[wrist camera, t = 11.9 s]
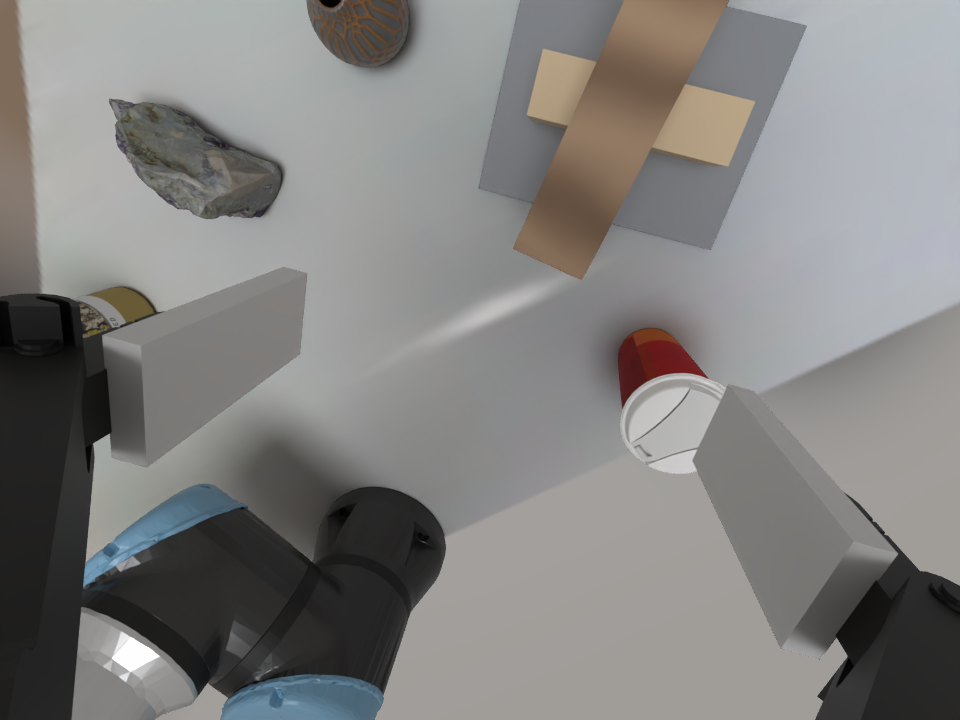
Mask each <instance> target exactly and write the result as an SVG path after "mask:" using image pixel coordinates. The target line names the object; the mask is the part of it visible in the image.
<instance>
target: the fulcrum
mask: <svg viewBox="0 0 960 720" xmlns="http://www.w3.org/2000/svg"><path fill="white" fill-rule="evenodd" d="M623 2H624V0H520V4H519V8H518V13H517V17H516V22H515V26H514V31H513V35H512V40H511V44H510V49H509V53H508V58H507V62H506V67H505V71H504V76H503V80H502V85H501V89H500V94H499V98H498V103H497V107H496V112H495V116H494V121H493V125H492V130H491V134H490V139H489V143H488V148H487V152H486V157H485V161H484V166H483V170H482V175H481V179H480V184H479V189H483V190H486V191H490V192H494V193H498V194H501V195H505V196H509V197H513V198H516V199H520V200H524V201H528V202H532V203H534V201H535V198H536V196H537V194H538V192H539V189H540V187H541V185H542V183H543V180H544V178H545V176H546V174H547V172H548V169H549V167H550V165H551V163H552V160H553V158H554V156H555V154H556V152H557V149H558V147H559V145H560V143H561V140H562V138H563V136H564V134H565V131H566V129H567V127H568V125H569V123H570V120H571V118H572V116H573V114H574V111H575V109H576V107H577V105H578V102H579V100H580V98H581V96H582V94H583V91H584V89H585V87H586V85H587V82H588V80H589V78H590V76H591V73H592V71H593V69H594V67H595V65H596V62H597V60H598V58H599V56H600V53H601V51H602V49H603V47H604V45H605V42H606V40H607V38H608V36H609V33H610V31H611V29H612V27H613V24H614V22H615V20H616V18H617V16H618V13H619V11H620V9H621V7H622V4H623ZM806 27H807V26H806V25H802V24H798V23H793V22H789V21H785V20H781V19H777V18H772V17H768V16H764V15H760V14H756V13H752V12H747V11H743V10H739V9H735V8H731V7H725V9H724V11H723V13H722V15H721V17H720V19H719V21H718V23H717V24H716V26H715V28H714V30H713V32H712V34H711V36H710V38H709V40H708V42H707V43H706V45H705V47H704V49H703V51H702V53H701V55H700V57H699V59H698V61H697V63H696V64H695V66H694V68H693V70H692V72H691V74H690V76H689V78H688V80H687V82H686V83H685V85H684V87H683V89H682V91H681V93H680V95H679V97H678V99H677V101H676V102H675V104H674V106H673V108H672V110H671V112H670V114H669V116H668V118H667V120H666V121H665V123H664V125H663V127H662V129H661V131H660V133H659V135H658V137H657V139H656V140H655V142H654V144H653V146H652V148H651V150H650V152H649V154H648V156H647V158H646V159H645V161H644V163H643V165H642V167H641V169H640V171H639V173H638V175H637V177H636V178H635V180H634V182H633V184H632V186H631V188H630V190H629V192H628V194H627V196H626V197H625V199H624V201H623V203H622V205H621V207H620V209H619V211H618V213H617V215H616V216H615V218H614V220H613V222H612V224H615V225H618V226H622V227H626V228H630V229H633V230H637V231H641V232H645V233H648V234H652V235H656V236H660V237H664V238H667V239H671V240H675V241H679V242H682V243H686V244H690V245H694V246H698V247H701V248H705V249H709V250H711V248H712V246H713V243H714V241H715V239H716V236H717V234H718V232H719V229H720V227H721V225H722V222H723V220H724V218H725V215H726V213H727V211H728V208H729V206H730V204H731V201H732V199H733V197H734V194H735V192H736V190H737V187H738V185H739V183H740V180H741V178H742V176H743V174H744V171H745V169H746V167H747V164H748V162H749V160H750V157H751V155H752V153H753V150H754V148H755V146H756V143H757V141H758V139H759V136H760V134H761V132H762V129H763V127H764V125H765V122H766V120H767V118H768V115H769V113H770V111H771V108H772V106H773V104H774V101H775V99H776V97H777V94H778V92H779V90H780V88H781V85H782V83H783V81H784V78H785V76H786V74H787V71H788V69H789V67H790V64H791V62H792V60H793V57H794V55H795V53H796V50H797V48H798V46H799V43H800V41H801V39H802V36H803V34H804V32H805V29H806Z"/></svg>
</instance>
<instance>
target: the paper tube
mask: <svg viewBox="0 0 960 720" xmlns="http://www.w3.org/2000/svg"><path fill="white" fill-rule="evenodd" d="M72 300H74V301H76V302H78V304H79V306H80V312H81V323H82V333H83V339H84V338H87V337H89V336H92V335H95V334H98V333H100V332H103V331H106V330H108V329H111V328H114V327H120V325H122V324H125V323H127V322H130V321H133V322H134V321H135V320H136V319H138V318H141V317H144V316H147V315H149V314H152V313H154V310H153V309H152V307H151V306H150V304H149V303H148V302H147V301H146V300H145V299H144V298H143V297H142V296H141V295H139V294H138V293H136V292H134V291H132V290H129V289H126V288H122V287H115V288H109V289H106V290H103V291H99V292H96V293H92V294H89V295H86V296H81V297H78V298H74V299H72Z"/></svg>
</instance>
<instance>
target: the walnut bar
mask: <svg viewBox="0 0 960 720" xmlns="http://www.w3.org/2000/svg"><path fill="white" fill-rule="evenodd" d="M728 2H729V0H624V2H623V4H622V7H621V9H620V11H619V13H618V16H617V18H616V20H615V22H614V24H613V27H612V29H611V31H610V33H609V36H608V38H607V40H606V42H605V45H604V47H603V49H602V51H601V53H600V56H599V58H598V60H597V62H596V65H595V67H594V69H593V71H592V73H591V76H590V78H589V80H588V82H587V85H586V87H585V89H584V91H583V94H582V96H581V98H580V100H579V102H578V105H577V107H576V109H575V111H574V114H573V116H572V118H571V120H570V123H569V125H568V127H567V129H566V131H565V134H564V136H563V138H562V140H561V143H560V145H559V147H558V149H557V152H556V154H555V156H554V158H553V160H552V163H551V165H550V167H549V169H548V172H547V174H546V176H545V178H544V180H543V183H542V185H541V187H540V189H539V192H538V194H537V196H536V198H535V201H534V203H533V205H532V207H531V209H530V212H529V214H528V216H527V218H526V221H525V223H524V225H523V227H522V230H521V232H520V234H519V236H518V238H517V241H516V243H515V245H514V247H513V249H515V250H517V251H519V252H521V253H524V254H526V255H528V256H530V257H532V258H534V259H537V260H539V261H541V262H543V263H545V264H547V265H550V266H552V267H554V268H556V269H558V270H561V271H563V272H565V273H567V274H569V275H571V276H574V277H576V278H578V279H580V280H582V279H583V277H584V275H585V274H586V272H587V270H588V268H589V266H590V264H591V262H592V260H593V258H594V256H595V255H596V253H597V251H598V249H599V247H600V245H601V243H602V241H603V239H604V237H605V236H606V234H607V232H608V230H609V228H610V226H611V224H612V222H613V220H614V218H615V216H616V215H617V213H618V211H619V209H620V207H621V205H622V203H623V201H624V199H625V197H626V196H627V194H628V192H629V190H630V188H631V186H632V184H633V182H634V180H635V178H636V177H637V175H638V173H639V171H640V169H641V167H642V165H643V163H644V161H645V159H646V158H647V156H648V154H649V152H650V150H651V148H652V146H653V144H654V142H655V140H656V139H657V137H658V135H659V133H660V131H661V129H662V127H663V125H664V123H665V121H666V120H667V118H668V116H669V114H670V112H671V110H672V108H673V106H674V104H675V102H676V101H677V99H678V97H679V95H680V93H681V91H682V89H683V87H684V85H685V83H686V82H687V80H688V78H689V76H690V74H691V72H692V70H693V68H694V66H695V64H696V63H697V61H698V59H699V57H700V55H701V53H702V51H703V49H704V47H705V45H706V43H707V42H708V40H709V38H710V36H711V34H712V32H713V30H714V28H715V26H716V24H717V23H718V21H719V19H720V17H721V15H722V13H723V11H724V9H725V7H726V5H727V4H728Z"/></svg>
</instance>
